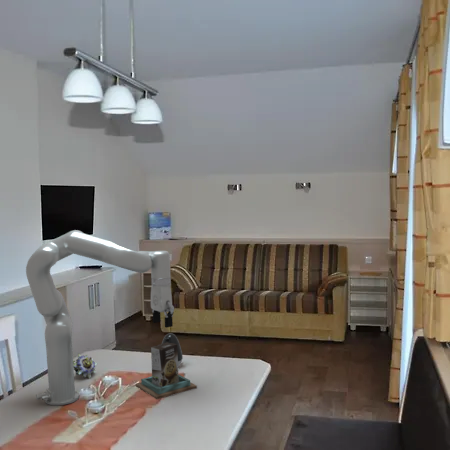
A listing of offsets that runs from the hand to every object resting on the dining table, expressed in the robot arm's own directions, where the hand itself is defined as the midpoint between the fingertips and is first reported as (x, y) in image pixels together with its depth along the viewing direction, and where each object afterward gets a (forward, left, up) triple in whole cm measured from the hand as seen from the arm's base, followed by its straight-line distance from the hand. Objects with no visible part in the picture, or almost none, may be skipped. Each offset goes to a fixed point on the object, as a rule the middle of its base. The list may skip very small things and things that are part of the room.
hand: (162, 324), depth 217 cm
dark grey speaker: (+14, +20, -26) cm, 35 cm away
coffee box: (0, 0, -25) cm, 25 cm away
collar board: (0, 0, -26) cm, 26 cm away
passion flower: (-21, +35, -26) cm, 48 cm away
